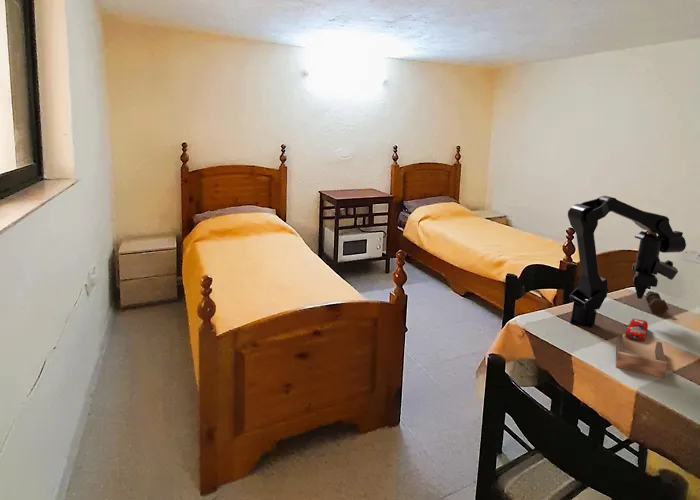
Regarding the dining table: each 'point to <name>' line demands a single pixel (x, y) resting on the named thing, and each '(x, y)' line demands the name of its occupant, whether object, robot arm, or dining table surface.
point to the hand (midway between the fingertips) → (639, 298)
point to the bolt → (656, 303)
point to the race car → (637, 329)
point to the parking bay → (641, 360)
